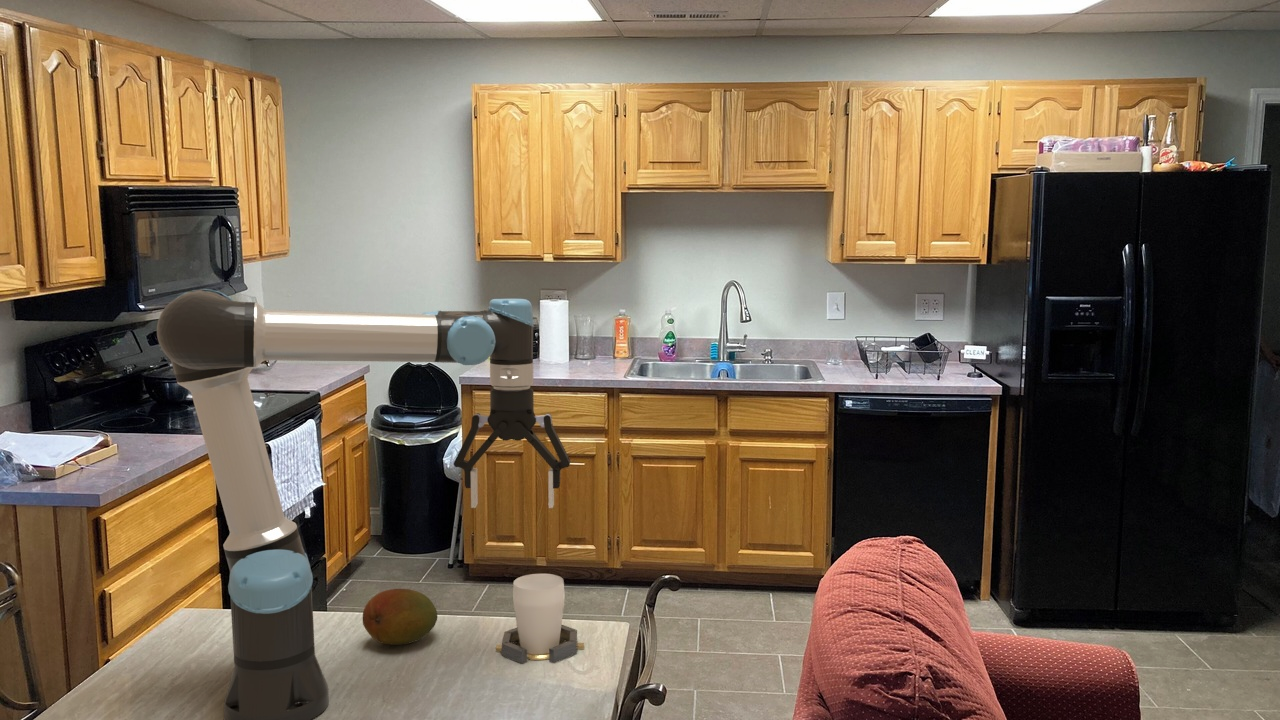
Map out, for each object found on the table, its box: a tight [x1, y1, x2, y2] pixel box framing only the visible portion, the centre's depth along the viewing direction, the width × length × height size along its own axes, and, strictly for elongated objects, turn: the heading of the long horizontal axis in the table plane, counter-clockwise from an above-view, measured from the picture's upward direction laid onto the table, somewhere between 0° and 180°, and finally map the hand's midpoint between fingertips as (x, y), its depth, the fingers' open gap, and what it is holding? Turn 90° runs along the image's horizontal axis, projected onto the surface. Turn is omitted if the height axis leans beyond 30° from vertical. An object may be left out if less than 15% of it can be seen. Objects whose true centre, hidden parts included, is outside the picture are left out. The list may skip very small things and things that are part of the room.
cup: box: [512, 573, 566, 655], centre depth 177 cm, size 9×9×12 cm
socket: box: [495, 624, 585, 665], centre depth 177 cm, size 15×13×2 cm
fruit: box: [362, 588, 438, 646], centre depth 181 cm, size 12×13×10 cm
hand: (512, 506), depth 179 cm, fingers open, 13 cm apart
